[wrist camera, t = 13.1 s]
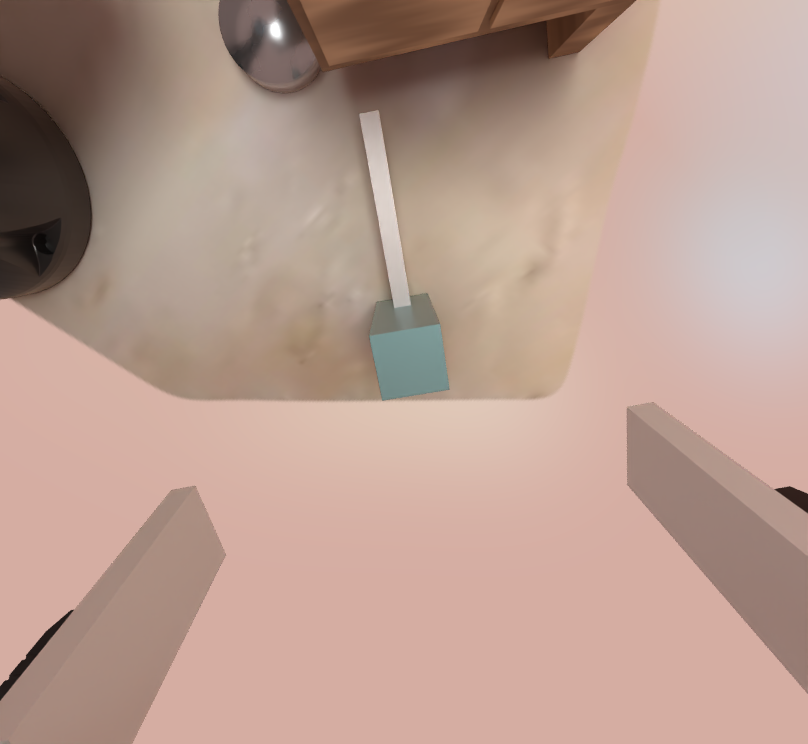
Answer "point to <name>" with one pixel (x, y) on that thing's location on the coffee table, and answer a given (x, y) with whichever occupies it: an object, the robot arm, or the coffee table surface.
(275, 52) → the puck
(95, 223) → the coffee table surface
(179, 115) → the coffee table surface
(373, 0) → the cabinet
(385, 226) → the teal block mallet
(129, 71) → the coffee table surface
